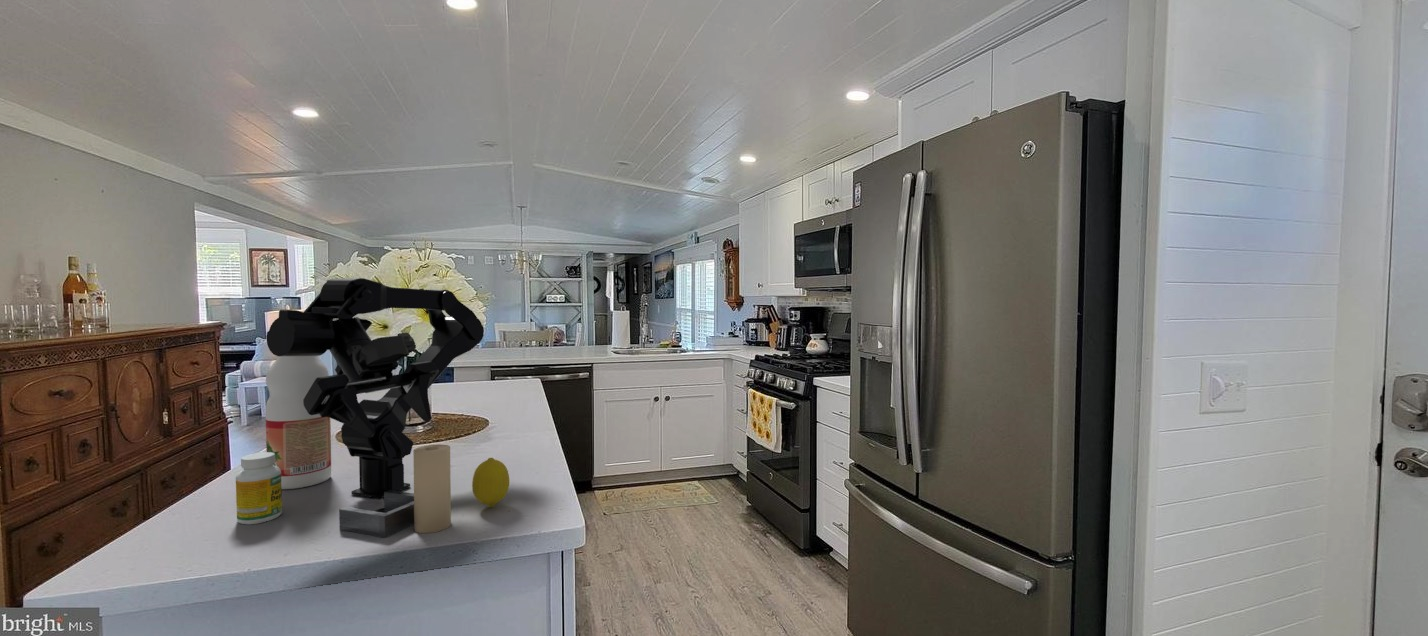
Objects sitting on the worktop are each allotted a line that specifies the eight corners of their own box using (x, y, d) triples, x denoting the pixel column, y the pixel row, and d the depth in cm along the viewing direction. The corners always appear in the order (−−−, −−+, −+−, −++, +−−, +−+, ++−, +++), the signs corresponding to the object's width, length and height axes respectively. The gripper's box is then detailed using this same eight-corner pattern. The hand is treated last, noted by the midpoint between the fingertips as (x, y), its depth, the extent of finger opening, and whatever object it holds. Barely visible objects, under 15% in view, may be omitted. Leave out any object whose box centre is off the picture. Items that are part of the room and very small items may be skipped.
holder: (339, 529, 82) (339, 509, 81) (389, 508, 90) (389, 489, 90) (384, 537, 79) (384, 516, 79) (432, 515, 87) (432, 496, 87)
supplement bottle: (243, 514, 87) (241, 453, 86) (286, 509, 89) (284, 449, 89) (231, 527, 82) (229, 462, 82) (277, 521, 84) (275, 458, 84)
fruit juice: (315, 489, 98) (311, 328, 97) (254, 491, 97) (250, 328, 96) (341, 472, 108) (338, 325, 107) (286, 474, 106) (283, 326, 105)
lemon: (497, 515, 87) (496, 463, 87) (465, 512, 88) (464, 461, 88) (516, 502, 93) (516, 454, 92) (486, 499, 94) (485, 452, 93)
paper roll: (406, 530, 81) (405, 451, 81) (432, 518, 86) (431, 443, 85) (433, 535, 80) (432, 454, 79) (458, 522, 84) (457, 446, 84)
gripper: (310, 321, 79) (363, 407, 75) (429, 313, 96) (478, 383, 92) (281, 372, 83) (330, 457, 79) (400, 356, 100) (445, 425, 96)
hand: (402, 427), depth 86 cm, fingers open, 9 cm apart
